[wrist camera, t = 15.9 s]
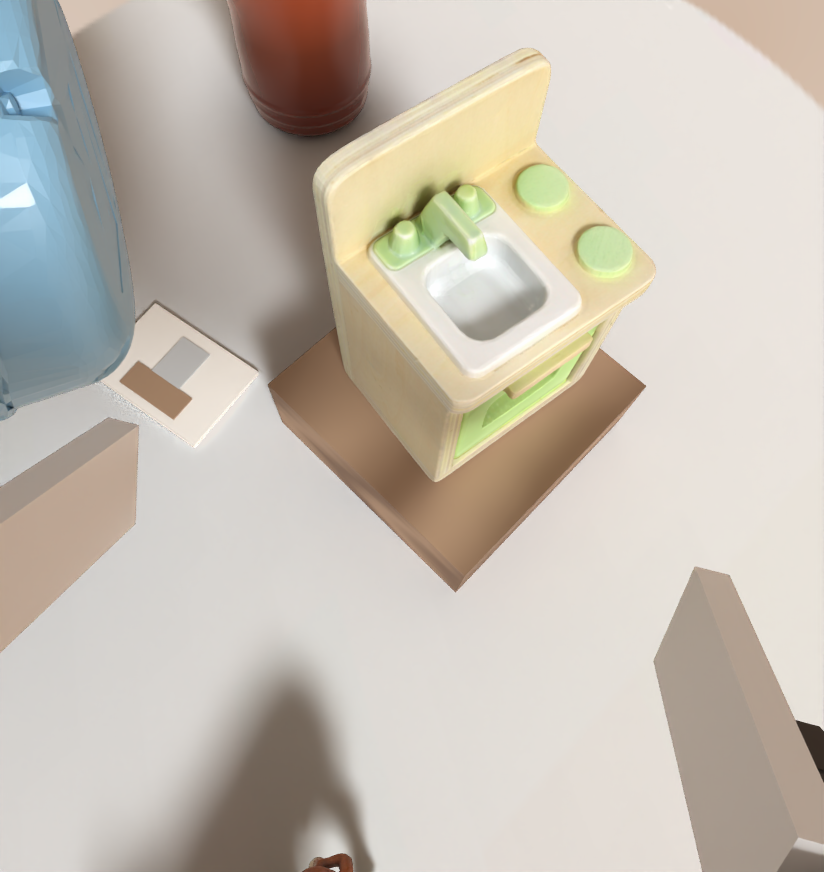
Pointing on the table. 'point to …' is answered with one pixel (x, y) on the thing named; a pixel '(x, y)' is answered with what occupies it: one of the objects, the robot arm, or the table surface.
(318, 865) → the bull figurine
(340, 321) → the toy sink
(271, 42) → the mug
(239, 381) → the card
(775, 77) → the table surface
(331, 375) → the walnut block
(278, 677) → the table surface
